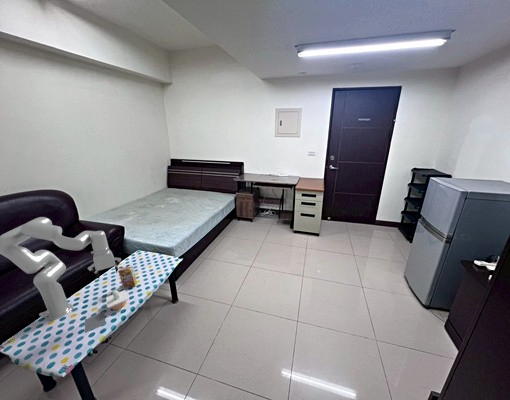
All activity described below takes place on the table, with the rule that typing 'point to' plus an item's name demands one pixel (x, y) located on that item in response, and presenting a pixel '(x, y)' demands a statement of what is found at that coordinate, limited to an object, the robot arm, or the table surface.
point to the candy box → (127, 277)
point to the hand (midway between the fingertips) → (107, 274)
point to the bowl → (118, 305)
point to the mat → (94, 322)
